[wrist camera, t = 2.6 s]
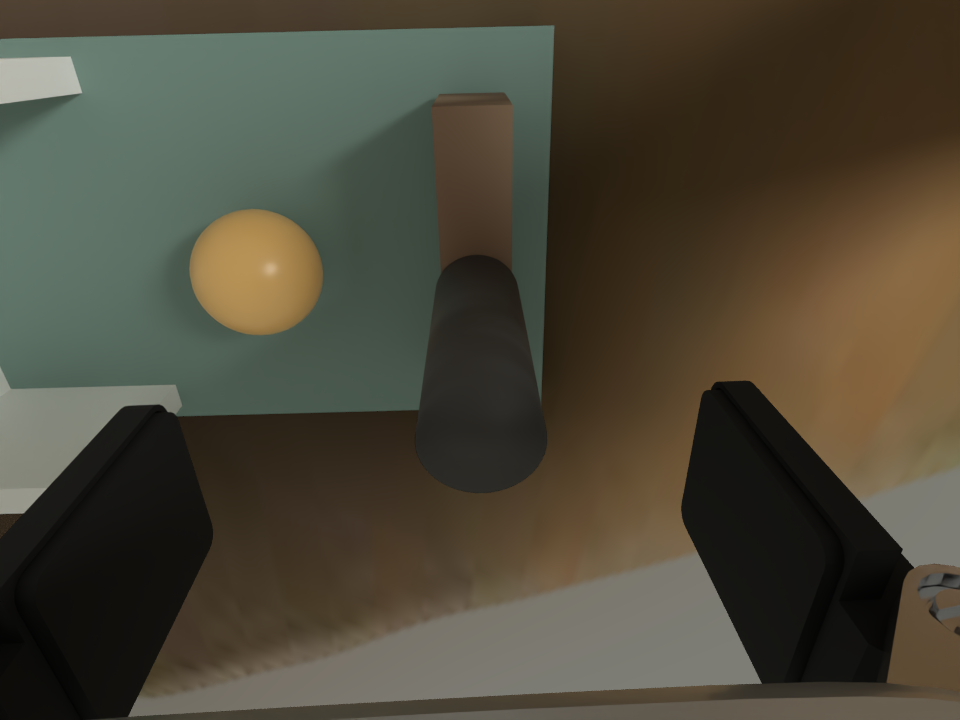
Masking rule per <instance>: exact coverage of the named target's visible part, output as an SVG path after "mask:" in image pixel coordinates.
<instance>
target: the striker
mask: <svg viewBox="0 0 960 720" xmlns="http://www.w3.org/2000/svg"><path fill="white" fill-rule="evenodd" d="M432 124H433V141H434V159H435V177H436V194H437V212H438V230H439V247H440V265H441V275H440V277H439V279H438V281H437V284H436V290H435V297H434V304H433V311H432V319H431V326H430V333H429V340H428V347H427V355H426V362H425V369H424V376H423V383H422V391H421V398H420V405H419V412H418V419H417V427H416V434H415V446H416V451H417V454H418V457H419V459H420V461H421V463H422V465H423V466H424V468H425V469H426V470H427V471H428V472H429V473H430V474H431V475H432V476H433V477H434V478H435V479H437V480H438V481H440V482H441V483H443V484H445V485H447V486H449V487H451V488H454V489H457V490H461V491H465V492H472V493H488V492H495V491H500V490H503V489H507V488H509V487H512V486H514V485H516V484H518V483H520V482H521V481H523V480H524V479H526V478H527V477H528V476H529V475H530V474H531V473H533V471H534V470H535V469H536V468H537V467H538V465H539V464H540V462H541V460H542V458H543V456H544V454H545V450H546V446H547V432H546V427H545V422H544V416H543V411H542V406H541V401H540V396H539V391H538V386H537V381H536V376H535V371H534V365H533V360H532V355H531V350H530V345H529V340H528V335H527V330H526V325H525V320H524V314H523V309H522V304H521V299H520V294H519V289H518V284H517V281H516V278H515V277H514V275H513V273H512V165H513V104H512V103H511V101H510V100H509V98H508V97H507V95H506V94H505V93H504V92H497V93H457V94H439V95H438V97H437V98H436V100H435V102H434V104H433V105H432Z"/></svg>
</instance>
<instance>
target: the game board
mask: <svg viewBox="0 0 960 720" xmlns="http://www.w3.org/2000/svg"><path fill="white" fill-rule="evenodd" d="M553 49H554V26H513V27H472V28H431V29H390V30H349V31H307V32H266V33H225V34H184V35H143V36H102V37H61V38H20V39H0V514H18V513H25V512H26V510H27V509H28V508H29V507H30V506H31V505H32V504H33V503H34V502H35V501H36V500H37V499H38V497H39V496H40V495H41V494H42V493H43V492H44V491H45V490H46V489H47V488H48V487H49V486H50V485H51V483H52V482H53V481H54V480H55V479H56V478H57V477H58V476H59V475H60V474H61V473H62V472H63V470H64V469H65V468H66V467H67V466H68V465H69V464H70V463H71V462H72V461H73V460H74V459H75V458H76V456H77V455H78V454H79V453H80V452H81V451H82V450H83V449H84V448H85V447H86V446H87V445H88V443H89V442H90V441H91V440H92V439H93V438H94V437H95V436H96V435H97V434H98V433H99V432H100V431H101V429H102V428H103V427H104V426H105V425H106V424H107V423H108V422H109V421H110V420H111V419H112V418H113V416H114V415H115V414H116V413H117V412H118V411H119V410H120V409H121V408H123V407H124V406H132V405H157V404H160V405H162V406H164V407H165V409H166V410H167V412H172V413H174V414H175V415H176V416H209V415H247V414H285V413H323V412H361V411H399V410H419V405H420V398H421V391H422V383H423V376H424V369H425V362H426V355H427V347H428V340H429V333H430V326H431V319H432V311H433V304H434V297H435V290H436V284H437V281H438V279H439V277H440V275H441V265H440V247H439V230H438V212H437V194H436V177H435V159H434V141H433V124H432V105H433V104H434V102H435V100H436V98H437V97H438V95H439V94H457V93H497V92H504V93H505V94H506V95H507V97H508V98H509V100H510V101H511V103H512V104H513V165H512V273H513V275H514V277H515V278H516V281H517V284H518V289H519V294H520V299H521V304H522V309H523V314H524V320H525V325H526V330H527V335H528V340H529V345H530V350H531V355H532V360H533V365H534V371H535V376H536V381H537V386H538V391H539V396H540V401H541V393H542V365H543V336H544V307H545V279H546V250H547V221H548V193H549V164H550V135H551V107H552V78H553ZM246 209H261V210H267V211H271V212H274V213H278V214H280V215H282V216H285V217H287V218H288V219H290V220H292V221H293V222H295V223H296V224H297V225H299V226H300V227H301V228H302V229H303V230H304V231H305V232H306V233H307V234H308V235H309V237H310V238H311V239H312V241H313V242H314V244H315V246H316V248H317V250H318V253H319V255H320V258H321V262H322V266H323V284H322V289H321V293H320V295H319V298H318V301H317V302H316V304H315V306H314V308H313V309H312V310H311V312H310V313H309V314H308V315H307V316H306V317H305V318H304V319H303V320H302V321H301V322H299V323H298V324H296V325H295V326H293V327H291V328H289V329H288V330H285V331H282V332H279V333H275V334H271V335H250V334H244V333H240V332H237V331H234V330H232V329H230V328H228V327H226V326H224V325H222V324H221V323H219V322H218V321H216V320H215V319H214V318H213V317H211V316H210V315H209V314H208V313H207V312H206V310H205V309H204V308H203V307H202V306H201V304H200V302H199V301H198V299H197V297H196V295H195V293H194V291H193V288H192V284H191V279H190V271H189V267H190V258H191V254H192V250H193V247H194V245H195V243H196V241H197V239H198V238H199V236H200V235H201V233H202V232H203V231H204V230H205V229H206V228H207V227H208V226H209V225H210V224H211V223H212V222H214V221H215V220H217V219H218V218H220V217H222V216H224V215H226V214H228V213H231V212H234V211H239V210H246Z"/></svg>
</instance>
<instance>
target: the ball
mask: <svg viewBox="0 0 960 720" xmlns="http://www.w3.org/2000/svg"><path fill="white" fill-rule="evenodd" d="M189 271H190V279H191V284H192V288H193V291H194V293H195V295H196V297H197V299H198V301H199V302H200V304H201V306H202V307H203V308H204V309H205V310H206V312H207V313H208V314H209V315H210V316H211V317H213V318H214V319H215V320H216V321H218V322H219V323H221V324H222V325H224V326H226V327H228V328H230V329H232V330H234V331H237V332H240V333H244V334H250V335H271V334H275V333H279V332H282V331H285V330H288V329H289V328H291V327H293V326H295V325H296V324H298V323H299V322H301V321H302V320H303V319H304V318H305V317H306V316H307V315H308V314H309V313H310V312H311V310H312V309H313V308H314V306H315V304H316V302H317V301H318V298H319V295H320V293H321V289H322V284H323V266H322V262H321V258H320V255H319V253H318V250H317V248H316V246H315V244H314V242H313V241H312V239H311V238H310V237H309V235H308V234H307V233H306V232H305V231H304V230H303V229H302V228H301V227H300V226H299V225H297V224H296V223H295V222H293V221H292V220H290V219H288V218H287V217H285V216H282V215H280V214H278V213H274V212H271V211H267V210H261V209H246V210H239V211H234V212H231V213H228V214H226V215H224V216H222V217H220V218H218V219H217V220H215V221H214V222H212V223H211V224H210V225H209V226H208V227H207V228H206V229H205V230H204V231H203V232H202V233H201V235H200V236H199V238H198V239H197V241H196V243H195V245H194V247H193V250H192V254H191V258H190V267H189Z"/></svg>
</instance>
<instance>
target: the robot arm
mask: <svg viewBox="0 0 960 720" xmlns="http://www.w3.org/2000/svg"><path fill="white" fill-rule="evenodd" d="M681 511H682V518H683V522H684V525H685V527H686V529H687V531H688V533H689V535H690V537H691V539H692V541H693V543H694V545H695V547H696V550H697V552H698V554H699V556H700V558H701V560H702V562H703V564H704V566H705V568H706V570H707V572H708V574H709V576H710V578H711V580H712V582H713V584H714V586H715V588H716V590H717V593H718V595H719V597H720V599H721V601H722V603H723V605H724V607H725V609H726V611H727V613H728V615H729V617H730V619H731V621H732V623H733V625H734V627H735V629H736V631H737V633H738V635H739V637H740V640H741V641H742V644H743V645H744V648H745V650H746V652H747V654H748V656H749V658H750V660H751V662H752V664H753V666H754V668H755V670H756V672H757V674H758V676H759V678H760V680H761V682H762V684H738V685H707V686H689V687H666V688H646V689H625V690H604V691H584V692H564V693H543V694H523V695H506V696H487V697H467V698H448V699H429V700H412V701H394V702H376V703H357V704H339V705H321V706H303V707H287V708H270V709H253V710H237V711H221V712H203V713H186V714H170V715H153V716H137V717H128V715H129V713H130V711H131V709H132V707H133V705H134V703H135V701H136V699H137V697H138V695H139V693H140V691H141V689H142V687H143V685H144V683H145V681H146V678H147V676H148V674H149V672H150V670H151V668H152V666H153V664H154V662H155V660H156V658H157V656H158V654H159V652H160V650H161V648H162V646H163V644H164V641H165V639H166V637H167V635H168V633H169V631H170V629H171V627H172V625H173V623H174V621H175V619H176V617H177V615H178V613H179V611H180V609H181V607H182V605H183V602H184V600H185V598H186V596H187V594H188V592H189V590H190V588H191V586H192V584H193V582H194V580H195V578H196V576H197V574H198V572H199V570H200V568H201V566H202V563H203V561H204V559H205V557H206V555H207V553H208V551H209V549H210V547H211V544H212V539H213V528H212V524H211V520H210V517H209V514H208V511H207V508H206V505H205V502H204V499H203V495H202V492H201V489H200V486H199V483H198V480H197V477H196V474H195V470H194V467H193V464H192V461H191V458H190V455H189V452H188V449H187V445H186V442H185V439H184V436H183V433H182V430H181V427H180V424H179V421H178V418H177V416H176V415H175V414H174V413H172V412H167V410H166V409H165V407H164V406H162V405H160V404H157V405H132V406H124V407H123V408H121V409H120V410H119V411H118V412H117V413H116V414H115V415H114V416H113V418H112V419H111V420H110V421H109V422H108V423H107V424H106V425H105V426H104V427H103V428H102V429H101V431H100V432H99V433H98V434H97V435H96V436H95V437H94V438H93V439H92V440H91V441H90V442H89V443H88V445H87V446H86V447H85V448H84V449H83V450H82V451H81V452H80V453H79V454H78V455H77V456H76V458H75V459H74V460H73V461H72V462H71V463H70V464H69V465H68V466H67V467H66V468H65V469H64V470H63V472H62V473H61V474H60V475H59V476H58V477H57V478H56V479H55V480H54V481H53V482H52V483H51V485H50V486H49V487H48V488H47V489H46V490H45V491H44V492H43V493H42V494H41V495H40V496H39V497H38V499H37V500H36V501H35V502H34V503H33V504H32V505H31V506H30V507H29V508H28V509H27V510H26V512H25V513H24V514H23V515H22V516H21V517H20V518H19V519H18V520H17V521H16V522H15V523H14V525H13V526H12V527H11V528H10V529H9V530H8V531H7V532H6V533H5V534H4V535H3V536H2V537H1V539H0V720H960V568H958V567H955V566H949V565H940V564H929V565H921V566H918V567H916V568H914V567H913V566H912V565H911V564H910V563H909V562H908V560H907V559H906V558H905V557H904V556H903V555H902V554H901V552H902V550H903V549H902V548H901V547H900V546H899V545H898V543H897V542H896V541H895V540H894V539H893V538H892V537H891V536H890V535H889V533H888V532H887V531H886V530H885V529H884V528H883V527H882V526H881V525H880V524H879V522H878V521H877V520H876V519H875V518H874V517H873V516H872V515H871V514H870V513H869V511H868V510H867V509H866V508H865V507H864V506H863V505H862V504H861V502H860V501H859V500H858V499H857V498H856V497H855V496H854V495H853V494H852V492H851V491H850V490H849V489H848V488H847V487H846V486H845V485H844V484H843V482H842V481H841V480H840V479H839V478H838V477H837V476H836V475H835V474H834V473H833V471H832V470H831V469H830V468H829V467H828V466H827V465H826V464H825V463H824V461H823V460H822V459H821V458H820V457H819V456H818V455H817V454H816V453H815V451H814V450H813V449H812V448H811V447H810V446H809V445H808V444H807V443H806V441H805V440H804V439H803V438H802V437H801V436H800V435H799V434H798V433H797V431H796V430H795V429H794V428H793V427H792V426H791V425H790V424H789V423H788V422H787V420H786V419H785V418H784V417H783V416H782V415H781V414H780V413H779V412H778V410H777V409H776V408H775V407H774V406H773V405H772V404H771V403H770V402H769V400H768V399H767V398H766V397H765V396H764V395H763V394H762V393H761V392H760V390H759V389H758V388H757V387H756V386H755V385H754V384H753V383H752V382H750V381H727V382H716V383H715V384H714V385H713V386H712V388H711V390H706V391H704V393H703V394H702V398H701V403H700V408H699V413H698V419H697V424H696V429H695V435H694V440H693V446H692V451H691V456H690V462H689V467H688V472H687V478H686V483H685V489H684V494H683V499H682V506H681Z"/></svg>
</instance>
